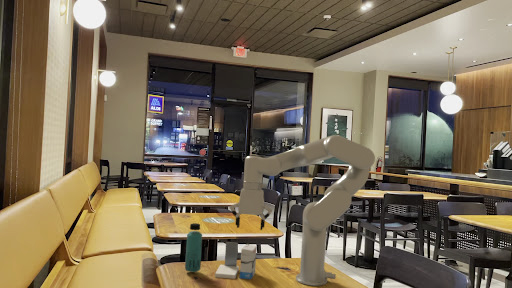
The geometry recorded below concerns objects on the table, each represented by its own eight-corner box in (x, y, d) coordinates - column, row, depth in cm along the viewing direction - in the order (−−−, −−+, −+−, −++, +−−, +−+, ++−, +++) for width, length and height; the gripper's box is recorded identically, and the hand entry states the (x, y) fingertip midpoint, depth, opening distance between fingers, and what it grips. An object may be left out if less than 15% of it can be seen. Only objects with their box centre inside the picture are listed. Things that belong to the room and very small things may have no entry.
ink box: (251, 280, 156) (252, 250, 156) (239, 278, 157) (240, 249, 157) (255, 273, 164) (257, 245, 164) (244, 271, 165) (245, 243, 165)
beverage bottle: (186, 276, 156) (189, 225, 156) (182, 270, 162) (185, 222, 162) (202, 274, 158) (205, 225, 158) (198, 269, 165) (200, 221, 164)
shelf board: (238, 269, 167) (238, 266, 167) (234, 278, 156) (235, 275, 156) (220, 268, 168) (220, 264, 168) (215, 277, 157) (215, 273, 157)
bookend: (236, 266, 167) (237, 242, 167) (236, 266, 166) (237, 243, 166) (224, 265, 168) (226, 241, 168) (224, 265, 167) (226, 242, 167)
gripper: (274, 187, 163) (271, 228, 163) (232, 183, 165) (230, 224, 165) (273, 189, 156) (270, 232, 156) (230, 185, 157) (227, 228, 157)
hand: (249, 228), depth 160 cm, fingers open, 9 cm apart
